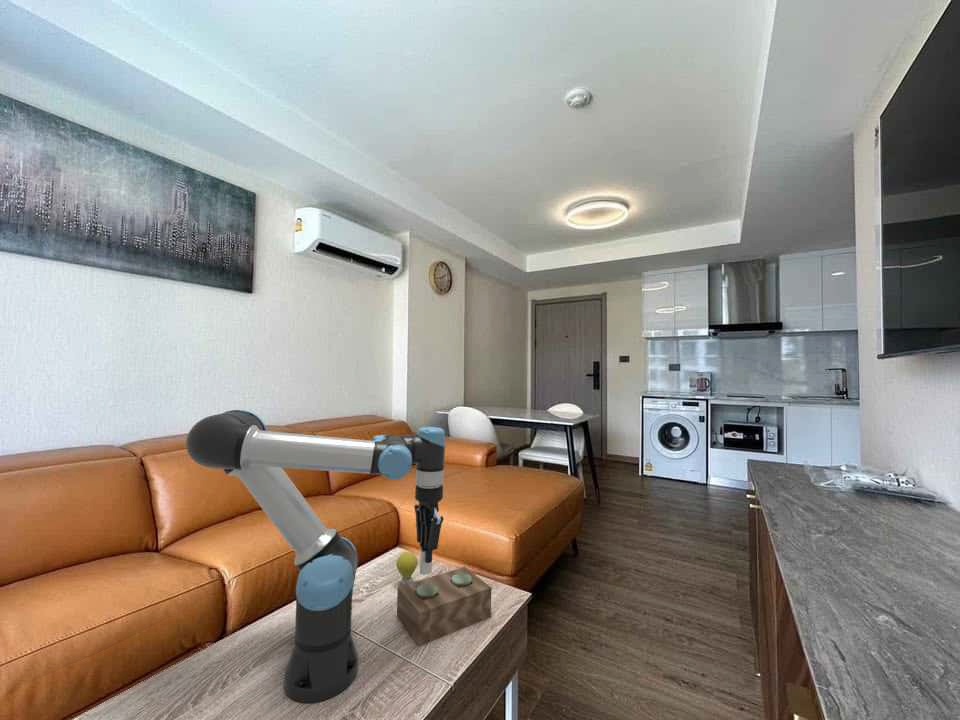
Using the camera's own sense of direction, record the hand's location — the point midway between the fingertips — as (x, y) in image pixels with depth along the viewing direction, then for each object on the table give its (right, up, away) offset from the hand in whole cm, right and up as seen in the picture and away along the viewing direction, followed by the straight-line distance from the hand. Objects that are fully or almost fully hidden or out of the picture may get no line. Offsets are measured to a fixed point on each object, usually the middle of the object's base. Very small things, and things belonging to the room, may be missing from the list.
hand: (425, 572), depth 106 cm
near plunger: (0, -13, 0) cm, 13 cm away
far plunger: (+9, -14, +6) cm, 18 cm away
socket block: (+5, -14, +3) cm, 15 cm away
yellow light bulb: (-9, -14, +19) cm, 25 cm away
